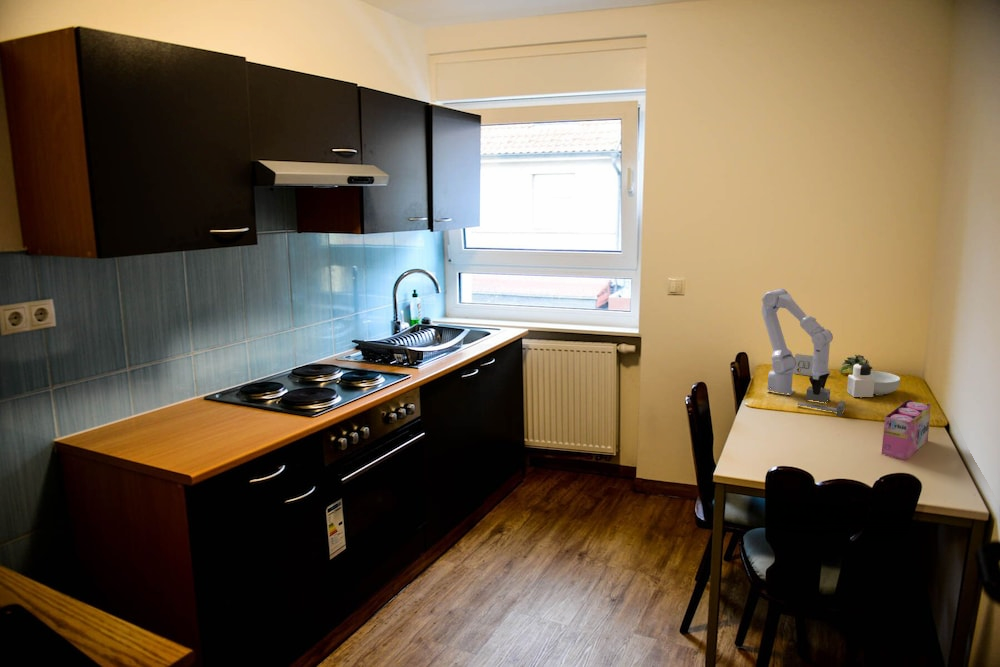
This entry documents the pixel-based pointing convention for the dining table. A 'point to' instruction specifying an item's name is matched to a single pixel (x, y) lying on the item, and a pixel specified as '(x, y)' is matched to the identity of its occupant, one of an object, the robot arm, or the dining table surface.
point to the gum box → (906, 429)
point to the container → (861, 381)
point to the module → (821, 397)
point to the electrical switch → (803, 364)
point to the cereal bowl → (884, 382)
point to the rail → (839, 408)
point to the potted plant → (853, 363)
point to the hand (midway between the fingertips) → (818, 391)
